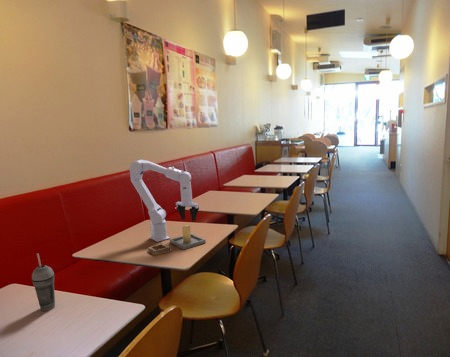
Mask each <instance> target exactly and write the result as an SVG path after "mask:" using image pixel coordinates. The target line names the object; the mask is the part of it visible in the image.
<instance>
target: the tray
mask: <svg viewBox="0 0 450 357" xmlns="http://www.w3.org/2000/svg"><path fill="white" fill-rule="evenodd" d="M169 243H170V244H172V245H174V247H177V248H178V249H181V250H186V249H190V248H193V247H197V246H201V245H203V244H206V239H205V238H202V237H200V236H198V235H196V234H193V233H191V242H190V243H184V242H183V235H181V236H178V237H174V238H169Z"/></svg>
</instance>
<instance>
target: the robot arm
mask: <svg viewBox="0 0 450 357" xmlns="http://www.w3.org/2000/svg"><path fill="white" fill-rule="evenodd" d="M128 170H129V176H130V182H131V183H132V185H133V187H134V188H135V190H136V191H137V193H138V195H139V197H140V199H141V200H142V201H143V203H144V205H145V207H146V208H147V210H148V211H147V212H148V215H149V220H150V225H149V229H150V236H149V238H150V239H151V240H153V241H155V242H157V243H158V242H161V241H165V240H168V239H169V240H170V239H171V237H170V236H168V232H167V231H168V230H167V222H166V219H165V218H166V217H167V212H166V210H165V209H163V208H162V207H161V205H159V204H158V203H157V202H156V200H155V198H154V196H153V195H152V193H151V192H150V190H149V188H148V186H147V185H146V184H145V182H144V180H143V176H144V175H143V174H144V173H145V172H147V171H153V172H157V173H159V174H163V175H164V176H165V178H167V179H171V180H173V181H175V182H178V183H179V184H180V187H179V188H180V198H181V199H180V200H181V201H177V202H175V206H176V207H175V209H176V210H177V212H178V214H179V216H180V219H181V220H182V221H183V220H185V219H186V209H187V208H189V209H188V211H189V212H190V215H191V216H190V217H191V221H192V222H196V220H197V215H198V212H199V210H200V204H199V203H197V202H194V201H193V191H192V184H191V183H192V181H191V180H192V174H191V173H190V172H189V171H186V170H185V171H184V170H182V169H181V170H180V169H178V168H175V166H169V167H164V166H162V165H159V164H158V163H155V162H152V161H149V160H145V159H142V158H141V159H138V160H135V161H133V162H132V163H130V166H129V168H128Z"/></svg>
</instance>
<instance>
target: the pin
mask: <svg viewBox="0 0 450 357" xmlns="http://www.w3.org/2000/svg"><path fill="white" fill-rule="evenodd" d="M181 229H182V236H183V242H184V243H190V242H191V234H192V231H191V226H190V225H184V226H183V225H182V227H181Z"/></svg>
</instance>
